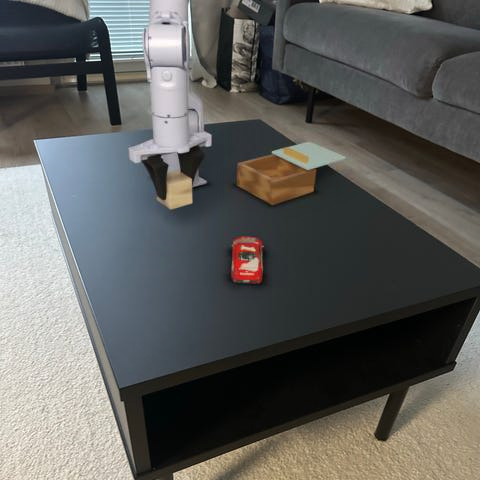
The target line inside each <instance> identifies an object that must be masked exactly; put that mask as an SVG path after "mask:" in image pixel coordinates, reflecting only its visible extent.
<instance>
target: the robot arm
mask: <svg viewBox="0 0 480 480" xmlns="http://www.w3.org/2000/svg"><path fill="white" fill-rule="evenodd" d="M189 5H190V0H149V11H148V23H147V24H148V25H147V28H146V27H143V30H142V53H143V61H144V65H145V69H146V78H147V83H149V93H150V108H151V109H150V110H151V123H152V135H153V136H152V138H151V139H149V140H147V141H143V142H142V143H139V144H137V145H134V146H130V147H128V157H129V160H130V161H131V162H133V163H134V164H139V163H142V164H143V165H144V168H145V169H146V171H147V173H148V174H149V177H150V179H151V181H152V184H153V186H154V187H153V188H154V190H155V193H156V197H157V196H158V197H159V198H160V199H162V200H166V197H167V185H166V180H167V173H168V172H172V171H176V170H178V171H180V172H181V173H183V174H185V175H186V176H188V177H190V178H191V179H192V188H196V187H200V186H203V185H206V184H207V183H208V181H207V180H206V179H204V178H202V177H201V176H200V175H199V174H200V173H199V168H200V166H201V163H202V162H203V161H204V160H205V151H203V150H201V148H202V147H205V148H208V147H212V146H213V145H212V144H213V143H212V138H213V137H212V134H211V133H209V132H207V131H205V111H204V102H203V100H202V99H201V98H200V97H199V96H198V95H197V94H195V93H194V91H192V90H191V88H190V87H191V85H190V81H191V80H190V78H191V77H190V64H191V37H190V30H189Z"/></svg>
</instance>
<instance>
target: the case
mask: <svg viewBox="0 0 480 480" xmlns="http://www.w3.org/2000/svg"><path fill="white" fill-rule="evenodd" d="M236 167H237V169H236V186H237V187H239V188H241V189H243V190H245V192H248V193H250V194H252V195H254V196H255V197H257V198H259V199H261V200H262V201H264V202H266V203H268V204H269V205H271V206H274V205H278V204H280V203H283V202H286V201H289V200H292V199H296V198H299V197H301V196H302V197H303V196H305V195H307V194H311V193H313V192H314V190H315V185H316V175H317V169H316V168H314V169H310V170H306V169H304V168H302V167H300V166H298V165H296V164H294V163H291V162H289V161H287V160H285V159H283V158H281V157H279V156H277V155H274V154H272V153H271V154H268V155H263V156H261V157H255V158H253V159H248V160H245V161H241V162H237V166H236Z"/></svg>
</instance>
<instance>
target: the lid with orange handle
mask: <svg viewBox="0 0 480 480" xmlns="http://www.w3.org/2000/svg"><path fill="white" fill-rule="evenodd" d="M271 154H274V155H277V156H279V157H281V158H283V159H285V160H287V161H289V162H291V163H294V164H296V165H298V166H300V167H302V168H304V169H306V170H310V169H316V168H320V167H323V166H324V167H325V166H327V165H331V164H334V163H337V162H341V161H344V160H346V159H347V158H346V156H344V155H342V154H340V153H337V152H335V151H332V150H330V149H328V148H325V147H323V146H320V145H318V144H316V143H313V142H311V141H306V142H302V143H299V144H295V145H290V146H286V147H283V148H279V149H275V150H272V151H271Z"/></svg>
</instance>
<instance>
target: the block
mask: <svg viewBox="0 0 480 480" xmlns="http://www.w3.org/2000/svg"><path fill="white" fill-rule="evenodd" d="M166 185H167V197H166V200H162V199H160V198H159V197H158V196H157V195H156V200H157V202H159V203H160V204H162V205H163V206H164V207H166V208H167V209H169V210H170V211H171V210H174V209H177V208H181V207H184V206H188V205H192V204H193V187H192V179H191V178H190V177H188V176H186V175H185V174H183V173H181V172H180V171H178V170H176V171H172V172H168V173H167V180H166Z"/></svg>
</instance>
